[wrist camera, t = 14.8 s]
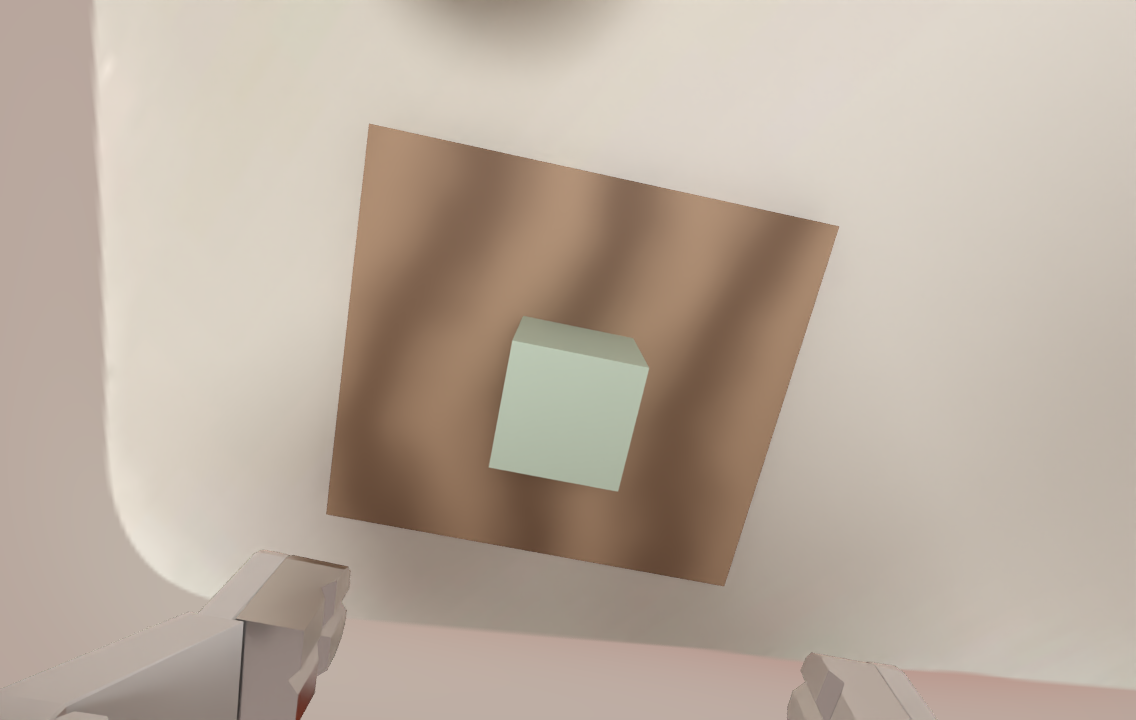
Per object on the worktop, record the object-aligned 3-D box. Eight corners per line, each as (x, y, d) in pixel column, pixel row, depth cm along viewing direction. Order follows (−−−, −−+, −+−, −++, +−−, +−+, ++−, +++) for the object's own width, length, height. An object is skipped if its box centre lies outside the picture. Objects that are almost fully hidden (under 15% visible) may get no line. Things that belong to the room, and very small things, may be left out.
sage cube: (633, 338, 25) (649, 367, 20) (608, 440, 26) (618, 491, 21) (523, 315, 25) (512, 340, 20) (503, 420, 26) (488, 467, 21)
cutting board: (826, 225, 25) (839, 226, 24) (717, 571, 29) (724, 586, 28) (378, 128, 24) (369, 123, 23) (336, 501, 28) (326, 514, 27)
